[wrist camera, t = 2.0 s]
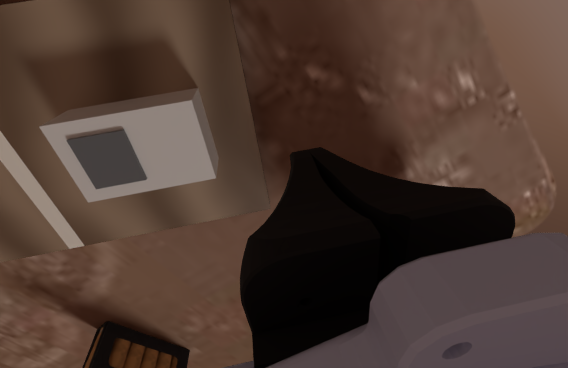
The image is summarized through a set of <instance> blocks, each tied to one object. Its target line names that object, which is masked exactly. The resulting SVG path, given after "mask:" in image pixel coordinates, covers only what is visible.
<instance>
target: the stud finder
mask: <svg viewBox="0 0 568 368" xmlns="http://www.w3.org/2000/svg"><path fill="white" fill-rule="evenodd" d="M39 127H40V129H41V130H42V132H43V134H44V135H45V137H46V138H47V140H48V141H49V143H50V144H51V146H52V147H53V149H54V151H55V152H56V154H57V155H58V157H59V158H60V160H61V161H62V163H63V164H64V166H65V168H66V169H67V171H68V172H69V174H70V175H71V177H72V178H73V180H74V181H75V183H76V185H77V186H78V188H79V189H80V191H81V192H82V194H83V195H84V197H85V198H86V200H87V202H88V203H89V202H94V201H100V200H105V199H110V198H115V197H121V196H126V195H131V194H136V193H142V192H147V191H152V190H157V189H163V188H168V187H173V186H179V185H184V184H189V183H194V182H200V181H205V180H210V179H215V178H216V175H217V167H218V154H217V151H216V147H215V144H214V140H213V137H212V134H211V130H210V127H209V123H208V120H207V117H206V113H205V110H204V106H203V103H202V100H201V96H200V93H199V89H198V88H194V89H188V90H182V91H176V92H170V93H165V94H159V95H153V96H147V97H141V98H135V99H129V100H124V101H118V102H112V103H106V104H100V105H94V106H88V107H83V108H77V109H71V110H67V111H66V112H64V113H62V114H60V115H59V116H57V117H55V118H53V119H52V120H50V121H48V122H46V123H45V124H43V125H41V126H39Z"/></svg>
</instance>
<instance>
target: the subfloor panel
mask: <svg viewBox="0 0 568 368" xmlns="http://www.w3.org/2000/svg"><path fill="white" fill-rule="evenodd" d="M194 88H198V89H199V93H200V96H201V100H202V103H203V106H204V110H205V113H206V117H207V120H208V123H209V127H210V130H211V134H212V137H213V140H214V144H215V147H216V151H217V154H218V167H217V175H216V178H215V179H210V180H205V181H200V182H194V183H189V184H184V185H179V186H173V187H168V188H163V189H157V190H152V191H147V192H142V193H136V194H131V195H126V196H121V197H115V198H110V199H105V200H100V201H94V202H89V203H88V202H87V200H86V198H85V197H84V195H83V194H82V192H81V191H80V189H79V188H78V186H77V185H76V183H75V181H74V180H73V178H72V177H71V175H70V174H69V172H68V171H67V169H66V168H65V166H64V164H63V163H62V161H61V160H60V158H59V157H58V155H57V154H56V152H55V151H54V149H53V147H52V146H51V144H50V143H49V141H48V140H47V138H46V137H45V135H44V134H43V132H42V130H41V129H40V127H39V126H41V125H43V124H45V123H46V122H48V121H50V120H52V119H53V118H55V117H57V116H59V115H60V114H62V113H64V112H66V111H67V110H71V109H77V108H83V107H88V106H94V105H100V104H106V103H112V102H118V101H124V100H129V99H135V98H141V97H147V96H153V95H159V94H165V93H170V92H176V91H182V90H188V89H194ZM267 209H271V208H270V202H269V197H268V192H267V187H266V182H265V177H264V172H263V167H262V162H261V157H260V152H259V147H258V142H257V137H256V132H255V127H254V122H253V117H252V112H251V107H250V102H249V97H248V92H247V87H246V82H245V77H244V72H243V67H242V62H241V57H240V52H239V47H238V42H237V37H236V32H235V27H234V22H233V17H232V12H231V7H230V2H229V0H32V1H25V2H18V3H11V4H4V5H0V262H5V261H10V260H15V259H20V258H25V257H30V256H35V255H40V254H45V253H51V252H56V251H61V250H66V249H71V248H76V247H81V246H86V245H91V244H96V243H101V242H106V241H111V240H116V239H121V238H126V237H131V236H136V235H141V234H146V233H151V232H156V231H161V230H166V229H171V228H176V227H181V226H186V225H191V224H196V223H202V222H207V221H212V220H217V219H222V218H227V217H232V216H237V215H242V214H247V213H252V212H257V211H262V210H267Z"/></svg>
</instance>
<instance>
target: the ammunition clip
mask: <svg viewBox="0 0 568 368" xmlns="http://www.w3.org/2000/svg"><path fill="white" fill-rule="evenodd" d="M189 352H190V350H188V349H185V348H182V347H180V346H177V345H174V344H171V343H168V342H166V341H163V340H160V339H157V338H154V337H152V336H149V335H146V334H143V333H140V332H138V331H135V330H132V329H129V328H126V327H124V326H121V325H118V324H115V323H112V322H109V321H108V322H106V323H104V324H103V325H102V326H101V327H100V328H99V329H97V331H96V334H95V336H94V339H93V342H92V344H91V347H90V349H89V352H88V355H87V357H86V360H85V363H84V365H83V368H187V363H188V358H189Z"/></svg>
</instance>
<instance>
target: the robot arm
mask: <svg viewBox="0 0 568 368" xmlns="http://www.w3.org/2000/svg"><path fill="white" fill-rule="evenodd" d="M290 161H291V171H290V176H289V180H288V183H287V186H286V189H285V191H284V194H283V196H282V198H281V200H280V202H279V203H278V205H277V207H276V208H275V210H274V211H273V213H272V214H271V215H270V217H269V218H268V219H267V220H266V222H265V223H264V224H263V225H262V226H261V227H260V228H259V229H258V230H257V231H256V232H254V233H253V234H252V235H251V236H250V237H249V238H248V241H247V244H246V248H245V251H244V256H243V260H242V266H241V274H240V294H241V302H242V306H243V309H244V311H245V314H246V317H247V320H248V323H249V325H250V328H251V331H252V338H253V358H254V361H250V362H246V363H241V364H237V365H232V366H228V367H224V368H568V236H566V235H565V234H563V233H532V234H527V235H523V236H518V237H513V238H511V237H512V235H513V231H514V228H515V216H514V213H513V212H512V210H511V208H510V207H509V206H507V205H506V204H504V203H503V202H502V201H500V200H499V199H497V198H496V197H494V196H493V195H492V194H490V193H489V192H487V191H486V190H485V189H478V188H461V187H446V186H437V185H429V184H423V183H416V182H411V181H406V180H402V179H397V178H393V177H389V176H386V175H383V174H379V173H376V172H373V171H370V170H368V169H365V168H363V167H360V166H358V165H356V164H353V163H351V162H349V161H347V160H345V159H343V158H341V157H339V156H337V155H335V154H333V153H331V152H329V151H327V150H325V149H323V148H321V147H319V148H314V149H308V150H303V151H298V152H292V153H291V155H290Z"/></svg>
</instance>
